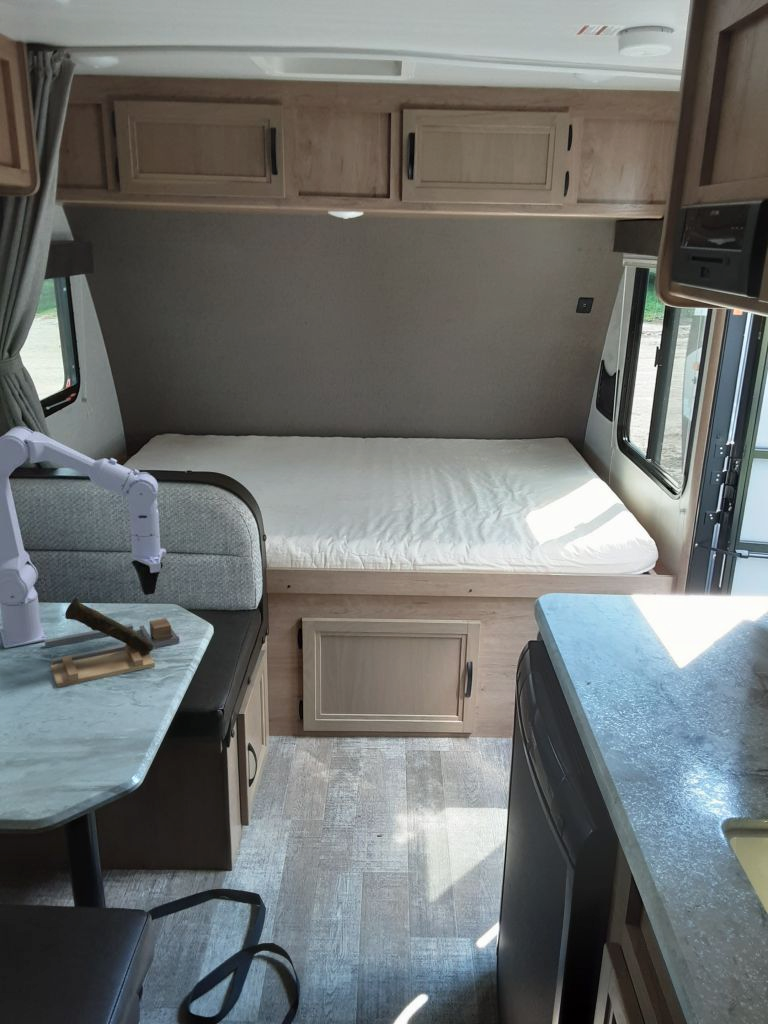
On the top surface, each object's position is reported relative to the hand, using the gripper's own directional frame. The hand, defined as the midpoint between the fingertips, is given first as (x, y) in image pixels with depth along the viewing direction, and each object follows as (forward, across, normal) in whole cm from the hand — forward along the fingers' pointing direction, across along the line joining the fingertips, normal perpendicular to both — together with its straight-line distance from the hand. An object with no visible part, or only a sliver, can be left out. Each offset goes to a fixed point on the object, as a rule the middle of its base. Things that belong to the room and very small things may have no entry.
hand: (148, 593), depth 170 cm
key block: (+9, -5, -1) cm, 10 cm away
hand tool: (+2, -7, +9) cm, 12 cm away
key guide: (+9, -3, -1) cm, 9 cm away
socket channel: (+9, -2, +12) cm, 15 cm away
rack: (+9, -12, +12) cm, 20 cm away
